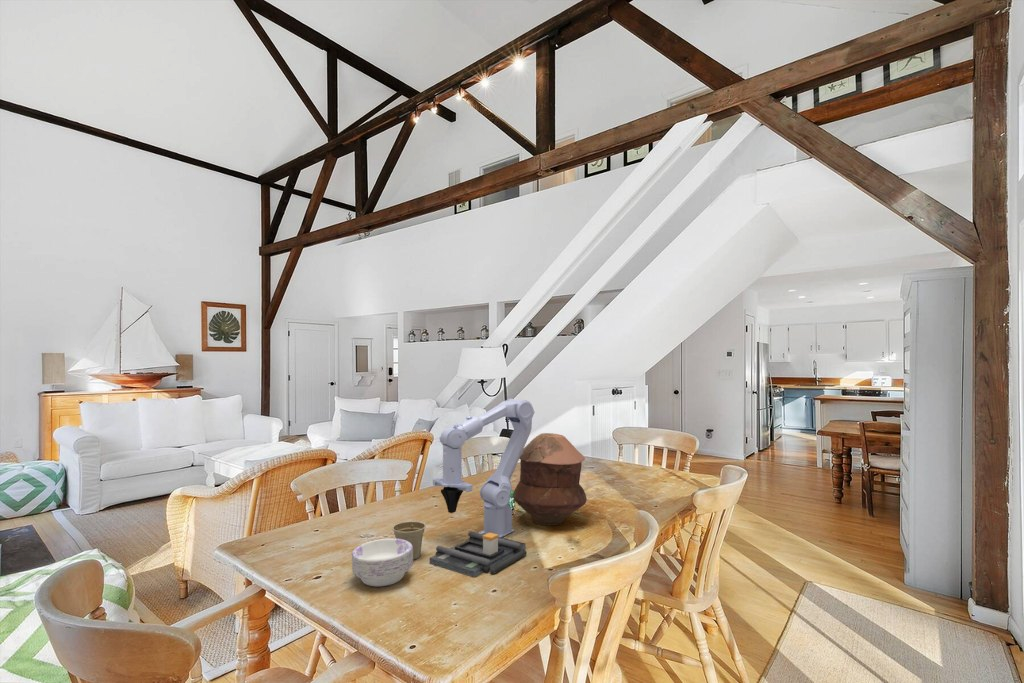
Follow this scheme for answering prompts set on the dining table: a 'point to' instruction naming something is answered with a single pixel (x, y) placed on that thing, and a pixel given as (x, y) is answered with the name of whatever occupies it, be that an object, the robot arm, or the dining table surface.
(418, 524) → the flower pot
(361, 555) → the paper bowls
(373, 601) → the dining table surface
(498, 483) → the robot arm
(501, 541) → the dark grey bar
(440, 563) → the breaker panel
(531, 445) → the pottery vessel
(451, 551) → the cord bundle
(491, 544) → the breaker lever
